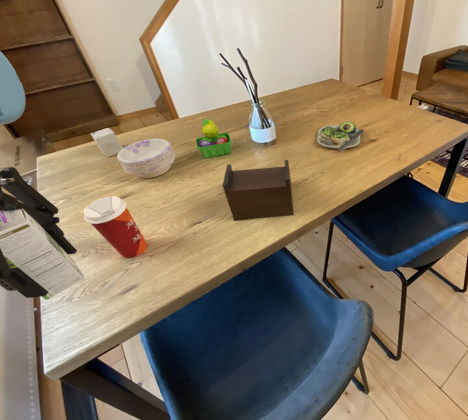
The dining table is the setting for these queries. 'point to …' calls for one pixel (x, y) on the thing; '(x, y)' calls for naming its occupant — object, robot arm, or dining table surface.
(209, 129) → the fruit basket
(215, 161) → the dining table surface
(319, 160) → the dining table surface
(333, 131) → the salad plate
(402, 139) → the dining table surface
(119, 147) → the product carton
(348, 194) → the dining table surface
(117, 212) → the paper cup
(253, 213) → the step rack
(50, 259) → the syrup box
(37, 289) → the robot arm
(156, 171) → the paper bowls
